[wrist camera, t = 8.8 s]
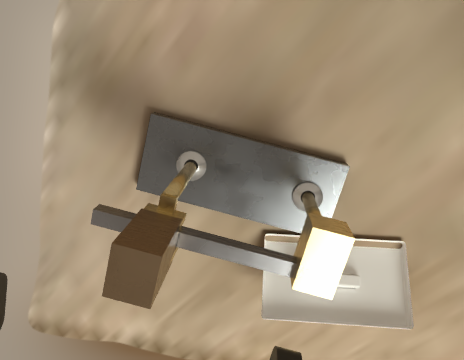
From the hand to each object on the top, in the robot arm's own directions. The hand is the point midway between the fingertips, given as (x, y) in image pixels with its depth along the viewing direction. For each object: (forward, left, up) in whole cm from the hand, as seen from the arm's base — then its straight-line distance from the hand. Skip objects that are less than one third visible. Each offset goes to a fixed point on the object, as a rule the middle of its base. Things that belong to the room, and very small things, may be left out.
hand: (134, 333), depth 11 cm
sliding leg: (+3, +5, -28) cm, 28 cm away
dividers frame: (-2, +4, -28) cm, 28 cm away
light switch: (-14, +10, -30) cm, 35 cm away
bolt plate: (-2, +3, -30) cm, 30 cm away
